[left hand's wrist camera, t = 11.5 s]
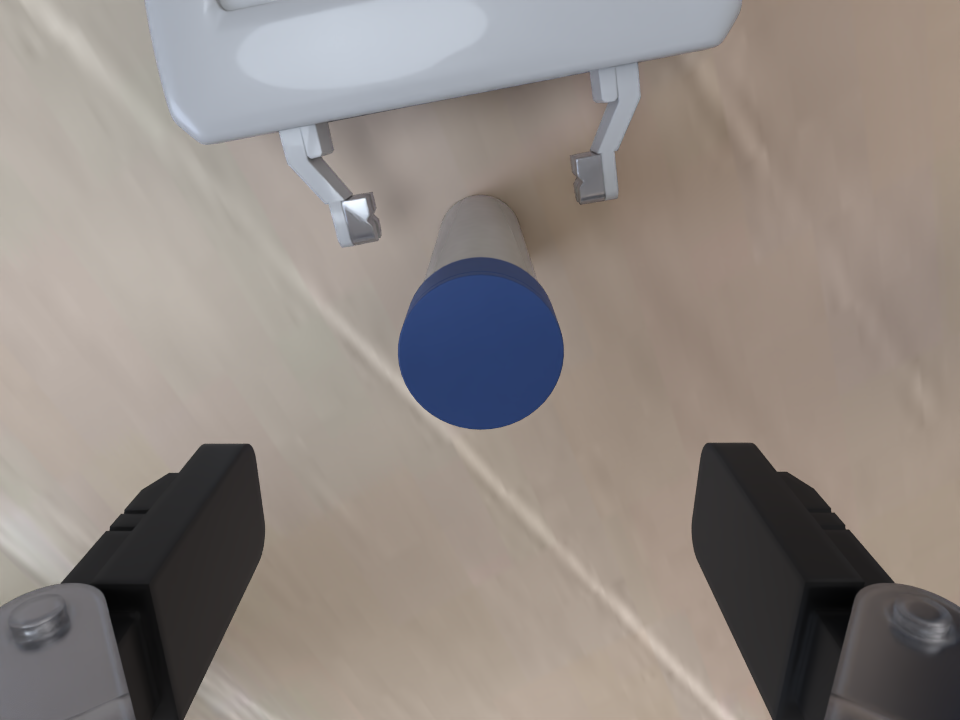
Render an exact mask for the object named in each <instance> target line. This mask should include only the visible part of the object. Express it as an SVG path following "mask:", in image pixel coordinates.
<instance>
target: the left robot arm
mask: <svg viewBox="0 0 960 720" xmlns="http://www.w3.org/2000/svg"><path fill="white" fill-rule="evenodd" d="M124 511H125V512H124V514H121V515H120V516H119V517H118V518H117V519H116V520H115V521H114V523H113V524H112V525H111V526H110V531H106V532H105V533H104V534H103V535H102V536H101V538H100V539H99V540H98V541H97V542H96V543H95V545H94V546H93V547H92V548H91V549H90V550H89V551H88V553H87V554H86V555H85V556H84V557H83V558H82V559H81V561H80V562H79V563H78V564H77V565H76V566H75V568H74V569H73V570H72V571H71V572H70V573H69V574H68V576H67V577H66V578H65V579H64V580H63V581H62V583H61V584H56V585H51V586H47V587H43V588H40V589H36V590H34V591H31V592H28V593H26V594H24V595H21V596H19V597H17V598H15V599H13V600H11V601H10V602H8V603H6V604H4V605H3V606H1V607H0V720H184V718H185V716H186V713H187V711H188V709H189V707H190V705H191V703H192V701H193V699H194V697H195V695H196V693H197V690H198V688H199V686H200V684H201V682H202V680H203V678H204V676H205V674H206V672H207V670H208V667H209V665H210V663H211V661H212V659H213V657H214V655H215V653H216V651H217V649H218V647H219V645H220V642H221V640H222V638H223V636H224V634H225V632H226V630H227V628H228V626H229V624H230V622H231V619H232V617H233V615H234V613H235V611H236V609H237V607H238V605H239V603H240V601H241V599H242V596H243V594H244V592H245V590H246V588H247V586H248V584H249V582H250V580H251V578H252V576H253V573H254V571H255V569H256V567H257V565H258V563H259V561H260V558H261V555H262V551H263V547H264V539H265V522H264V514H263V507H262V499H261V492H260V485H259V478H258V470H257V463H256V457H255V453H254V450H253V448H252V446H251V445H250V444H203V445H201V446H200V447H199V449H198V450H197V451H196V452H195V454H194V455H193V456H192V457H191V459H190V460H189V461H188V462H187V463H186V465H185V466H184V467H183V468H182V470H181V471H180V472H179V473H168V474H167V475H165V476H163V477H162V478H160V479H159V480H157V481H155V482H154V483H152V484H151V485H149V486H147V487H146V488H144V489H143V490H141V491H140V493H139V494H138V495H137V496H136V497H135V498H134V500H133V501H132V502H131V503H130V504H129V505H128V506H127V508H126V509H125V510H124ZM692 541H693V548H694V552H695V555H696V558H697V561H698V563H699V565H700V567H701V569H702V571H703V573H704V576H705V578H706V580H707V582H708V584H709V586H710V588H711V590H712V592H713V595H714V597H715V599H716V601H717V603H718V605H719V607H720V609H721V612H722V614H723V616H724V618H725V620H726V622H727V624H728V626H729V628H730V631H731V633H732V635H733V637H734V639H735V641H736V643H737V645H738V648H739V650H740V652H741V654H742V656H743V658H744V660H745V662H746V664H747V667H748V669H749V671H750V673H751V675H752V677H753V679H754V681H755V684H756V686H757V688H758V690H759V692H760V694H761V696H762V698H763V700H764V703H765V705H766V707H767V709H768V711H769V713H770V715H771V717H772V719H773V720H960V607H959V606H957V605H956V604H954V603H952V602H950V601H949V600H947V599H945V598H943V597H941V596H939V595H936V594H934V593H932V592H929V591H926V590H924V589H920V588H917V587H913V586H909V585H904V584H896V583H894V581H893V580H892V579H891V578H890V577H889V576H888V574H887V573H886V572H885V571H884V570H883V569H882V567H881V566H880V565H879V564H878V563H877V562H876V560H875V559H874V558H873V557H872V556H871V555H870V553H869V552H868V551H867V550H866V549H865V548H864V546H863V545H862V544H861V543H860V542H859V541H858V540H857V538H856V537H855V536H854V535H853V534H852V533H851V531H850V530H846V529H845V524H844V523H843V522H842V521H841V520H840V519H839V517H838V516H837V515H836V514H835V513H831V508H830V507H829V506H828V505H827V503H826V502H825V501H824V500H823V499H822V498H821V496H820V495H819V494H818V493H817V492H816V491H815V489H813V488H812V487H810V486H809V485H807V484H805V483H804V482H802V481H801V480H799V479H797V478H796V477H794V476H793V475H791V474H789V473H788V472H777V471H776V470H775V469H774V468H773V466H772V465H771V464H770V463H769V461H768V460H767V459H766V458H765V456H764V455H763V454H762V453H761V451H760V450H759V449H758V448H757V446H756V445H755V444H753V443H707V444H705V446H704V447H703V450H702V453H701V458H700V465H699V473H698V480H697V488H696V495H695V502H694V510H693V517H692Z"/></svg>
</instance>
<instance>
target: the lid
mask: <svg viewBox="0 0 960 720" xmlns="http://www.w3.org/2000/svg"><path fill="white" fill-rule="evenodd" d="M563 358H564V345H563V339H562V334H561V331H560V327H559V324H558V321H557V319H556V316H555V313H554V310H553V307H552V304H551V302H550V300H549V298H548V296H547V294H546V292H545V291H544V289H543V288H542V286H541V285H540V284H539V283H538V282H537V281H536V279H534V278H533V277H532V276H531V275H530V274H529V273H527V272H526V271H524V270H523V269H522V268H520V267H518V266H516V265H514V264H512V263H509V262H507V261H504V260H500V259H495V258H488V257H473V258H466V259H461V260H458V261H455V262H452V263H450V264H448V265H446V266H444V267H442V268H440V269H439V270H437V271H436V272H434V273H433V274H432V275H431V276H429V277H428V278H427V279H426V280H425V281H424V283H423V284H422V285H421V286H420V287H419V289H418V290H417V292H416V293H415V295H414V297H413V299H412V301H411V303H410V306H409V309H408V312H407V315H406V318H405V321H404V324H403V327H402V330H401V333H400V338H399V344H398V359H399V366H400V370H401V374H402V377H403V379H404V382H405V384H406V386H407V388H408V389H409V391H410V393H411V394H412V396H413V397H414V398H415V399H416V401H417V402H418V403H419V404H420V405H421V406H422V407H423V408H424V409H426V410H427V411H428V412H429V413H431V414H432V415H434V416H435V417H437V418H439V419H440V420H442V421H444V422H447V423H449V424H452V425H455V426H458V427H462V428H468V429H479V430H481V429H494V428H499V427H503V426H507V425H510V424H513V423H515V422H517V421H520V420H521V419H523V418H525V417H527V416H528V415H530V414H531V413H532V412H534V411H535V410H536V409H538V408H539V407H540V406H541V405H542V404H543V403H544V402H545V400H546V399H547V398H548V397H549V395H550V394H551V392H552V391H553V389H554V387H555V386H556V384H557V381H558V379H559V376H560V373H561V369H562V366H563Z"/></svg>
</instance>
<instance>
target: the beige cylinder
mask: <svg viewBox="0 0 960 720" xmlns="http://www.w3.org/2000/svg"><path fill="white" fill-rule="evenodd" d="M473 257H488V258H495V259H500V260H504V261H507V262H509V263H512V264H514V265H516V266H518V267H520V268H522V269H523V270H524V271H526V272H527V273H529V274H530V275H531V276H532V277H533V278H534V279H536V281H537V278H536V275H535V272H534V268H533V265H532V262H531V259H530V256H529V253H528V250H527V247H526V243H525V240H524V237H523V234H522V231H521V228H520V225H519V222H518V219H517V217H516V215H515V214H514V212H513V211H512V210H511V208H510V207H509V206H508V205H506V204H505V203H504V202H502V201H501V200H499V199H497V198H494V197H491V196H487V195H474V196H469V197H467V198H464V199H462V200H460V201H458V202H457V203H455V204H454V205H453V206H452V207H451V208H450V209H449V210H448V212H447V213H446V215H445V217H444V219H443V221H442V224H441V227H440V230H439V234H438V237H437V240H436V243H435V247H434V250H433V253H432V256H431V259H430V263H429V266H428V269H427V272H426V276H425V279H424V281H425V280H426V279H427V278H428V277H429V276H431V275H432V274H433V273H434V272H436V271H437V270H439V269H440V268H442V267H444V266H446V265H448V264H450V263H452V262H455V261H458V260H461V259H466V258H473ZM537 282H538V281H537ZM423 283H424V282H423Z"/></svg>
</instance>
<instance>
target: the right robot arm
mask: <svg viewBox="0 0 960 720" xmlns="http://www.w3.org/2000/svg"><path fill="white" fill-rule="evenodd" d="M145 6H146V12H147V18H148V24H149V30H150V35H151V40H152V45H153V50H154V54H155V59H156V63H157V67H158V71H159V76H160V80H161V83H162V87H163V91H164V95H165V99H166V102H167V105H168V108H169V112H170V114H171V116H172V118H173V120H174V122H175V123H176V124H177V125H178V126H179V127H180V128H182V129H183V130H184V131H185V132H187V133H188V134H189V135H190V136H191V137H193V138H194V139H195V140H196V141H198V142H199V143H201V144H205V145H209V144H218V143H223V142H229V141H234V140H239V139H244V138H250V137H255V136H260V135H265V134H270V133H276V132H279V135H280V138H281V142H282V146H283V149H284V153H285V157H286V160H287V164H288V165H289V166H290V167H291V168H292V169H293V170H294V171H295V172H296V173H297V175H298V176H299V177H300V178H301V179H302V180H303V181H304V182H305V183H306V184H307V185H308V186H309V187H310V188H311V189H312V191H313V192H314V193H315V194H316V195H317V196H318V197H319V198H320V199H321V200H322V201H323V202H324V203H325V204H329V207H330V211H331V215H332V219H333V223H334V227H335V230H336V234H337V238H338V242H339V243H340V245H341V247H342V248H343V247H350V246H354V245H360V244H365V243H370V242H375V241H378V240H379V238H381V225H380V221H379V218H377V217H376V216H375V215H374V213H375V210H376V204H375V200H374V195H373V192H369V193H363V194H357V195H353V193H352V192H351V191H350V190H349V189H348V188H347V186H346V185H345V184H344V183H343V182H342V181H341V179H340V178H339V177H338V176H337V175H336V174H335V172H334V171H333V170H332V169H331V168H330V167H329V165H328V164H327V163H326V162H325V161H324V160H323V158H322V157H321V156H324V155H327V154H330V153H332V152H333V150H334V147H333V143H332V139H331V135H330V130H329V126H328V122H332V121H337V120H342V119H347V118H352V117H358V116H363V115H368V114H373V113H378V112H384V111H389V110H394V109H399V108H404V107H410V106H415V105H420V104H425V103H430V102H436V101H441V100H446V99H451V98H456V97H462V96H467V95H472V94H477V93H482V92H487V91H493V90H498V89H503V88H508V87H513V86H519V85H524V84H529V83H534V82H539V81H545V80H550V79H555V78H560V77H565V76H571V75H576V74H581V73H586V72H590V79H591V87H592V95H593V101H595V102H596V103H608V104H607V107H606V110H605V112H604V115H603V117H602V120H601V122H600V125H599V128H598V130H597V133H596V135H595V138H594V141H593V143H592V146H591V148H590V151H589V152H584V153H579V154H575V155H570V160H571V168H572V173H573V174H574V175H575V176H576V179H575V181H574V183H573V184H574V192H575V197H576V200H577V202H579V204H580V205H581V204H587V203H594V202H600V201H605V200H611V199H617V198H618V181H617V171H616V161H615V151H617V150H618V149H619V147H620V144H621V142H622V140H623V137H624V135H625V133H626V130H627V128H628V126H629V123H630V121H631V119H632V116H633V114H634V112H635V109H636V107H637V105H638V102H639V100H640V98H641V96H640V83H639V71H638V63H639V62H644V61H649V60H655V59H660V58H665V57H670V56H675V55H680V54H686V53H691V52H696V51H701V50H706V49H709V48H713V47H716V46H718V45H719V44H721V43H722V42H723V40H724V39H725V37H726V36H727V34H728V33H729V31H730V29H731V28H732V26H733V24H734V22H735V21H736V19H737V17H738V15H739V13H740V10H741V6H742V0H145Z"/></svg>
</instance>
